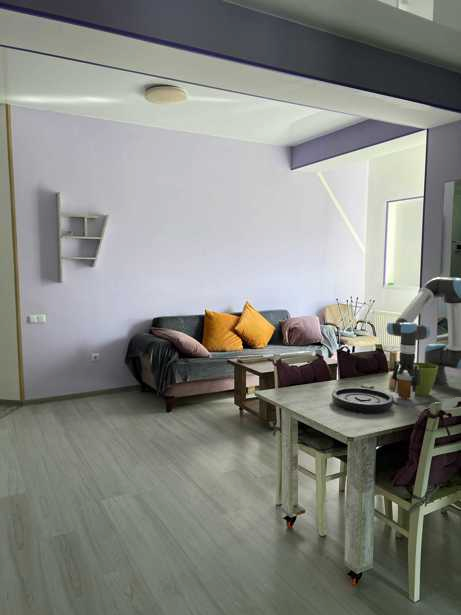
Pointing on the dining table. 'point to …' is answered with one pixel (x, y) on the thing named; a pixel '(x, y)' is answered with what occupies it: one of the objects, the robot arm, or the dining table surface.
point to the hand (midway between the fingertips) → (404, 395)
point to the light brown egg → (392, 383)
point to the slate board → (408, 401)
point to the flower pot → (426, 378)
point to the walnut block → (367, 386)
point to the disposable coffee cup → (404, 384)
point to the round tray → (362, 400)
